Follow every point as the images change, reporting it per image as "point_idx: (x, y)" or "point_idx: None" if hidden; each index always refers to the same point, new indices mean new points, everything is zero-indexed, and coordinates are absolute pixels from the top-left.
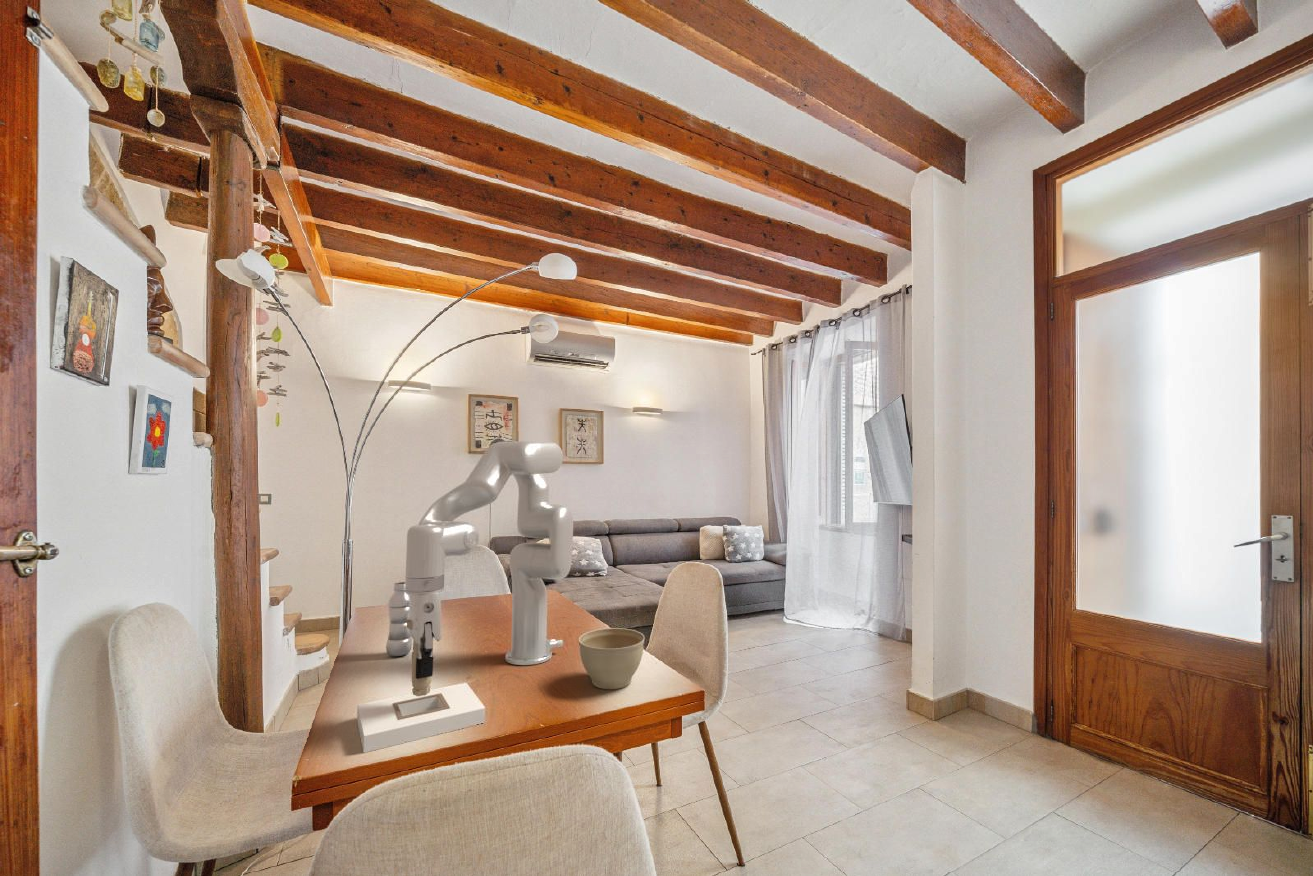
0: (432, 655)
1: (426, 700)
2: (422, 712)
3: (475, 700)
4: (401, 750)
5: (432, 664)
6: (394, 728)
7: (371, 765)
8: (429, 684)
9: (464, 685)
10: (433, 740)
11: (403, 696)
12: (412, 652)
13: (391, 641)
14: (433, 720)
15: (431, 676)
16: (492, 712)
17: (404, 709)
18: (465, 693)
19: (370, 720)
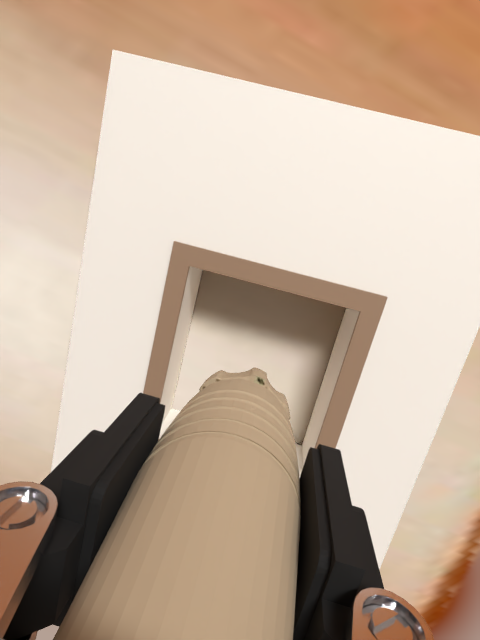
0: (426, 632)
1: (180, 317)
2: (335, 413)
3: (404, 143)
4: (431, 501)
5: (349, 508)
6: (383, 543)
7: (448, 595)
8: (279, 402)
9: (147, 80)
10: (458, 397)
11: (77, 380)
12: (55, 622)
13: None
14: (444, 409)
15: (269, 407)
16: (428, 70)
17: (167, 398)
18: (266, 137)
19: None
